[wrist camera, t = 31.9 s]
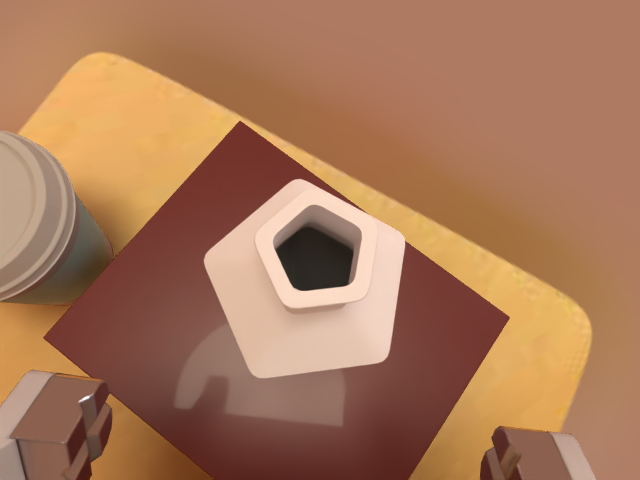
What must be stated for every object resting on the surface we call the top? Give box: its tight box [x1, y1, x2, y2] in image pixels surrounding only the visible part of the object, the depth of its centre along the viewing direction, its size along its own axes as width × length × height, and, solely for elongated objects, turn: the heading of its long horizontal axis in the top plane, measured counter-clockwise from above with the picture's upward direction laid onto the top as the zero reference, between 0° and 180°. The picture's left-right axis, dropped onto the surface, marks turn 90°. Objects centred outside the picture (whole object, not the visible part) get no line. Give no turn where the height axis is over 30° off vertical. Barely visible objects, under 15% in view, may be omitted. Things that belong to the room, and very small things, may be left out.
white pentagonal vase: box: [204, 179, 405, 378], centre depth 16 cm, size 5×4×15 cm
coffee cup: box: [0, 130, 113, 305], centre depth 28 cm, size 9×9×12 cm
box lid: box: [43, 121, 510, 480], centre depth 23 cm, size 16×14×1 cm
